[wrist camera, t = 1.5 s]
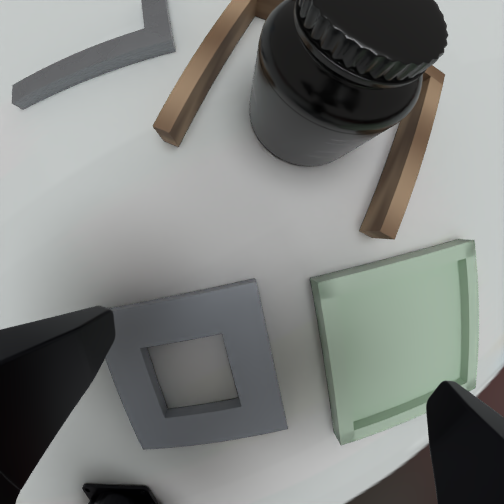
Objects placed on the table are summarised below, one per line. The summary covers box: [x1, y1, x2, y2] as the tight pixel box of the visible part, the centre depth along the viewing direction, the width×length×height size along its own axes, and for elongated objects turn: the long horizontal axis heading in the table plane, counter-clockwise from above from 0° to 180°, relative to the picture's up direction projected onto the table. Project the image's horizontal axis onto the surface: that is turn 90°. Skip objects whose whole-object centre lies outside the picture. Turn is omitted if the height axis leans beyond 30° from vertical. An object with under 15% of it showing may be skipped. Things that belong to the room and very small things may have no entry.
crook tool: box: [12, 0, 176, 110], centre depth 17 cm, size 12×6×2 cm, turn 103°
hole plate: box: [105, 279, 288, 449], centre depth 19 cm, size 10×10×1 cm
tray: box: [310, 239, 479, 445], centre depth 19 cm, size 12×12×2 cm
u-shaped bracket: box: [153, 0, 445, 239], centre depth 17 cm, size 12×14×3 cm
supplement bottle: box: [250, 0, 448, 166], centre depth 13 cm, size 7×7×12 cm
